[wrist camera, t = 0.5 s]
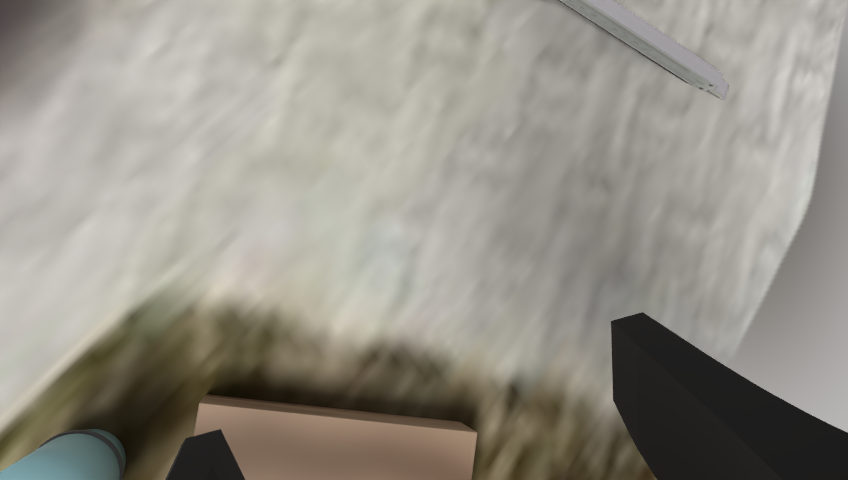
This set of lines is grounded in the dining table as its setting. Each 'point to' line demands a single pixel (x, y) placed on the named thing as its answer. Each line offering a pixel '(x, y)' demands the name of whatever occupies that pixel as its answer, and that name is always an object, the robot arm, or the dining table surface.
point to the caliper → (651, 44)
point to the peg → (72, 458)
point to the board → (336, 442)
